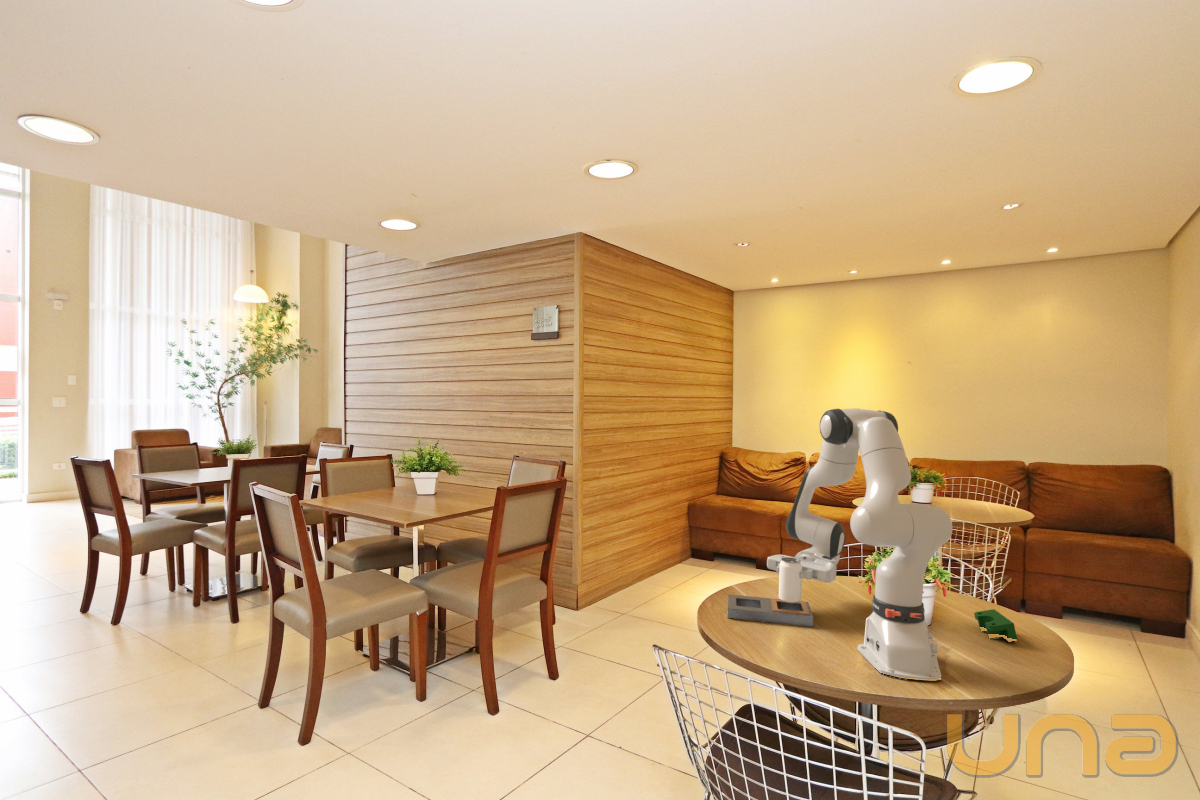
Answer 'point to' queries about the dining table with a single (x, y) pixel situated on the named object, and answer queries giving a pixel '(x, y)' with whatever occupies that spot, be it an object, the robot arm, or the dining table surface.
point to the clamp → (996, 623)
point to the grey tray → (769, 610)
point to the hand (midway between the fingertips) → (789, 573)
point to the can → (790, 580)
